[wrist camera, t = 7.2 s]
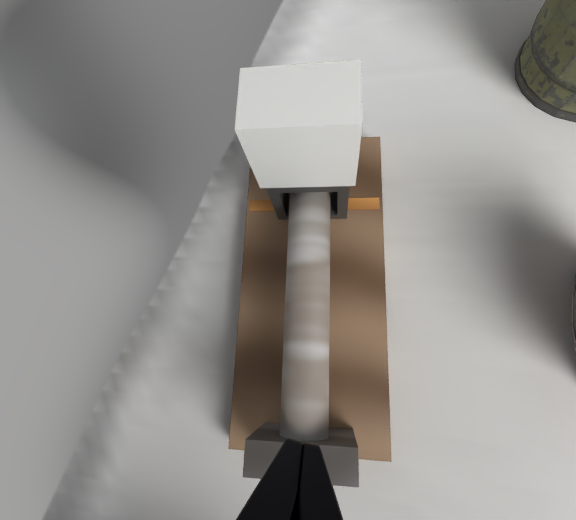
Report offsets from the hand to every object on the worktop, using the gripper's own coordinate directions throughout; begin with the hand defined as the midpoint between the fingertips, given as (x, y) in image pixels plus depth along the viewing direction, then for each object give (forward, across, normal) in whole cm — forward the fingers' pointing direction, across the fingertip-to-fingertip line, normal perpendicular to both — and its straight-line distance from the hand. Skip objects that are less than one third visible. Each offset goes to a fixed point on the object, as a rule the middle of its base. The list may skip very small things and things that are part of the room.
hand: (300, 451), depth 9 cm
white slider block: (+17, +1, -2) cm, 17 cm away
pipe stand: (+15, 0, +3) cm, 15 cm away
